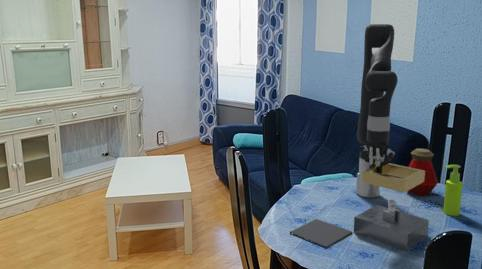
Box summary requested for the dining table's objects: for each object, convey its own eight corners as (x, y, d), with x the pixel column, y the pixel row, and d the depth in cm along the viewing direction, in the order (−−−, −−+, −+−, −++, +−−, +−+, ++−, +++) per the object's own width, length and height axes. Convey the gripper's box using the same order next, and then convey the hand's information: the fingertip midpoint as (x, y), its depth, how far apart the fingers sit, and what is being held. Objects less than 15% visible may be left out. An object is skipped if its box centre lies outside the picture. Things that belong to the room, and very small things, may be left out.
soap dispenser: (437, 210, 170) (442, 163, 166) (454, 209, 170) (458, 162, 166) (446, 216, 164) (450, 167, 160) (462, 215, 165) (467, 167, 160)
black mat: (289, 233, 152) (289, 231, 152) (316, 220, 163) (316, 218, 163) (326, 248, 141) (326, 246, 141) (352, 233, 151) (352, 231, 151)
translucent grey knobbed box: (353, 232, 152) (355, 198, 149) (376, 219, 163) (377, 187, 160) (406, 251, 138) (409, 214, 135) (427, 235, 149) (430, 201, 146)
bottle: (394, 191, 192) (397, 149, 188) (411, 184, 200) (414, 144, 196) (426, 201, 180) (430, 156, 176) (443, 194, 188) (447, 151, 184)
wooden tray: (362, 182, 147) (362, 171, 146) (383, 172, 157) (384, 162, 156) (404, 192, 136) (404, 181, 135) (424, 181, 146) (425, 170, 145)
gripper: (355, 127, 149) (353, 173, 153) (391, 132, 140) (388, 181, 143) (366, 124, 154) (364, 168, 158) (401, 129, 145) (398, 176, 148)
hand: (375, 174), depth 151 cm, fingers closed on wooden tray
